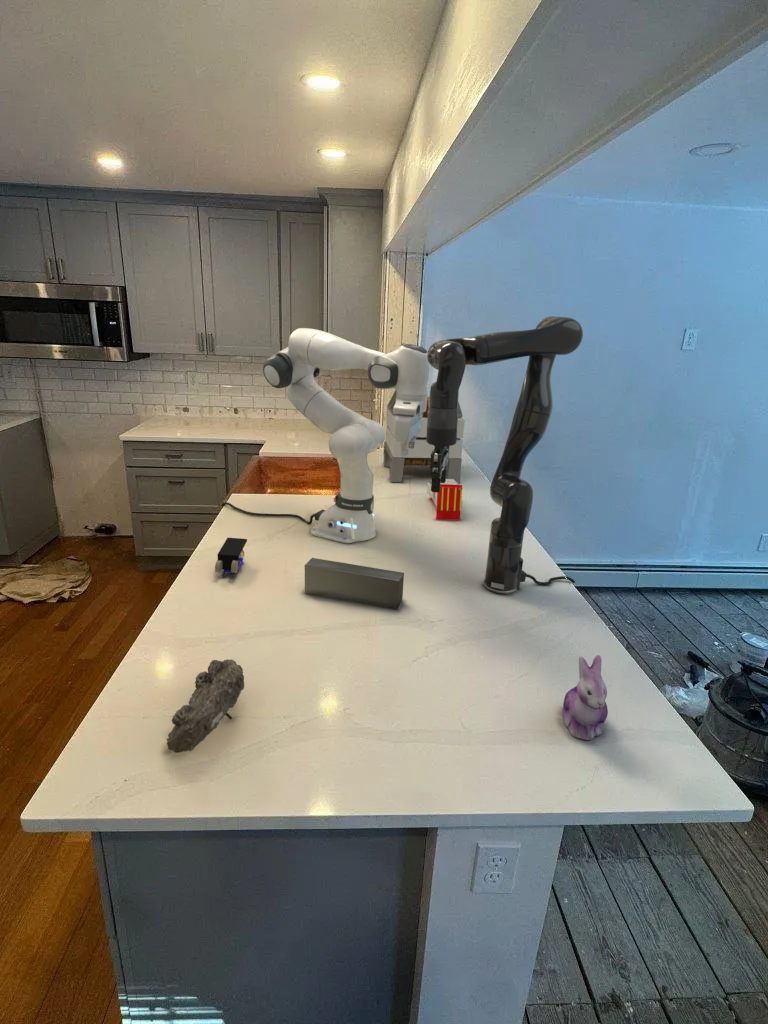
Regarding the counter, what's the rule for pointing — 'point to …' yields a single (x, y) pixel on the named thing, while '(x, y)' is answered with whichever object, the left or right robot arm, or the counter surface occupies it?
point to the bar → (354, 583)
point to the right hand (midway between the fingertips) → (438, 487)
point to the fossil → (206, 705)
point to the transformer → (419, 447)
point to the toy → (447, 500)
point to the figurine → (586, 702)
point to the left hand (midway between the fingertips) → (407, 451)
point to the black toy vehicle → (230, 556)
